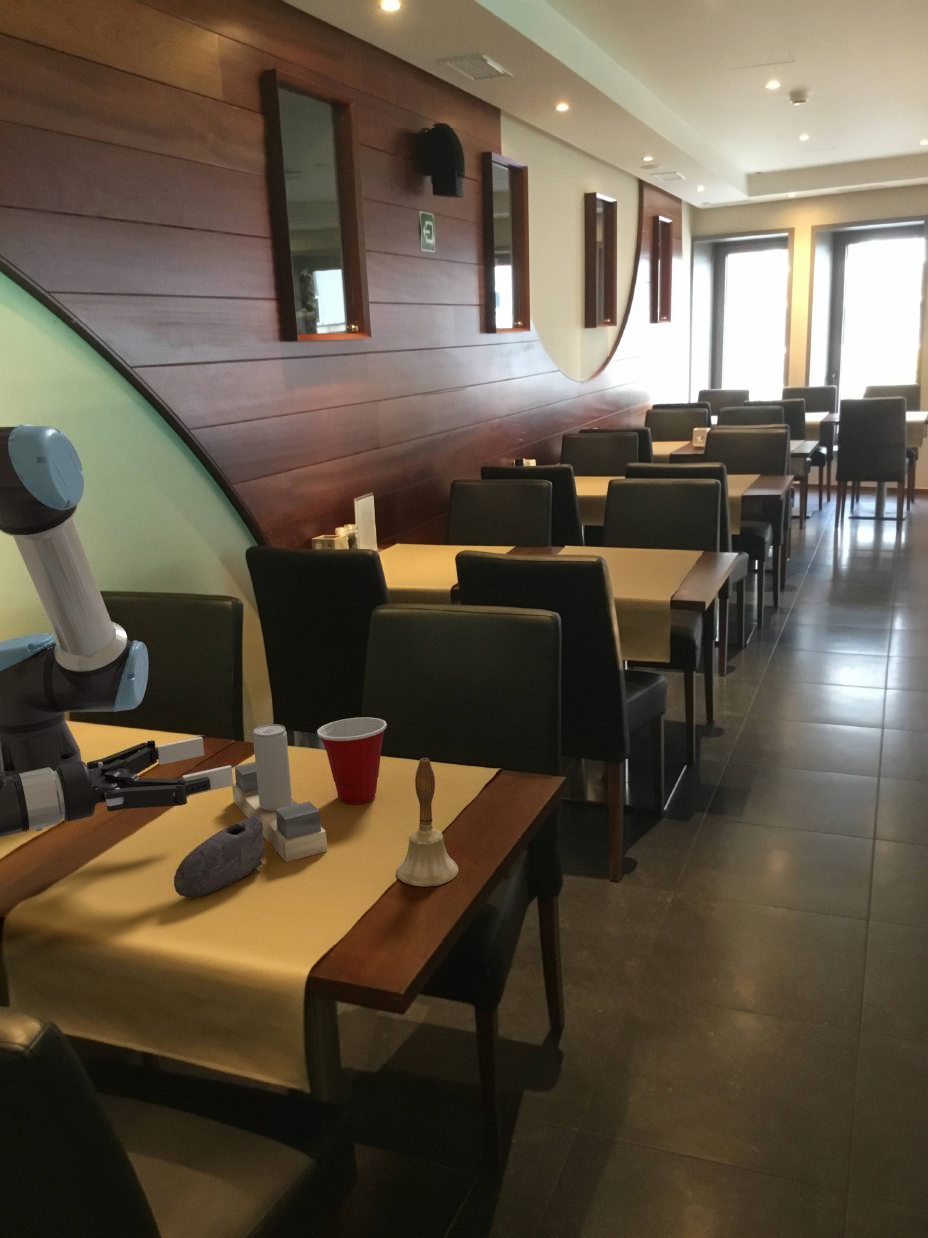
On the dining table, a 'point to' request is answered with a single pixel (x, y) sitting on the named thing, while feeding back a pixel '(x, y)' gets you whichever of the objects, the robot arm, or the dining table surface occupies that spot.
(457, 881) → the dining table surface
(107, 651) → the robot arm
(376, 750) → the plastic cup
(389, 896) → the dining table surface
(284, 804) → the beverage can
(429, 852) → the hand bell
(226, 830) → the perforated stone tool
